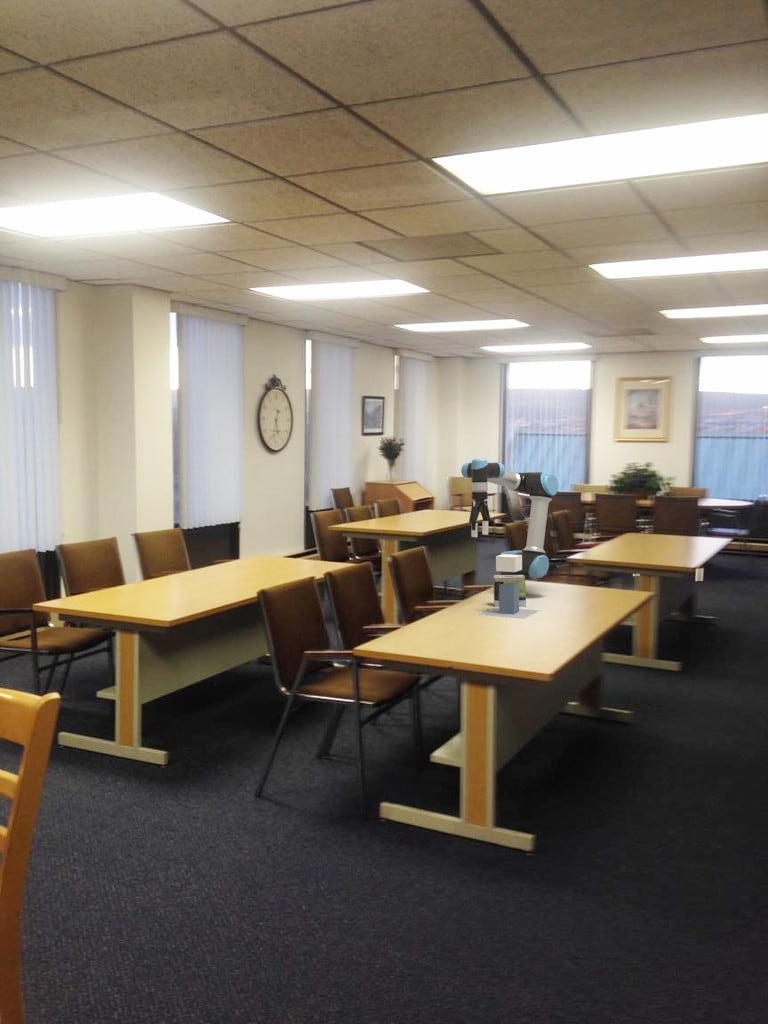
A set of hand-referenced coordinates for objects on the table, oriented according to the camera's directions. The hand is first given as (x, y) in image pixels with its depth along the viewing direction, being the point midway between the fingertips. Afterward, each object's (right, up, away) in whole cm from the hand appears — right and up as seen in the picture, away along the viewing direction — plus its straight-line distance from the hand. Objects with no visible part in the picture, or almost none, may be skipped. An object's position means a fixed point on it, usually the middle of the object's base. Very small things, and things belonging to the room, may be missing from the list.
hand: (479, 535), depth 409 cm
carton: (+12, -35, -14) cm, 40 cm away
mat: (+12, -36, -14) cm, 40 cm away
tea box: (+15, -35, +6) cm, 38 cm away
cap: (+12, -15, -16) cm, 25 cm away
